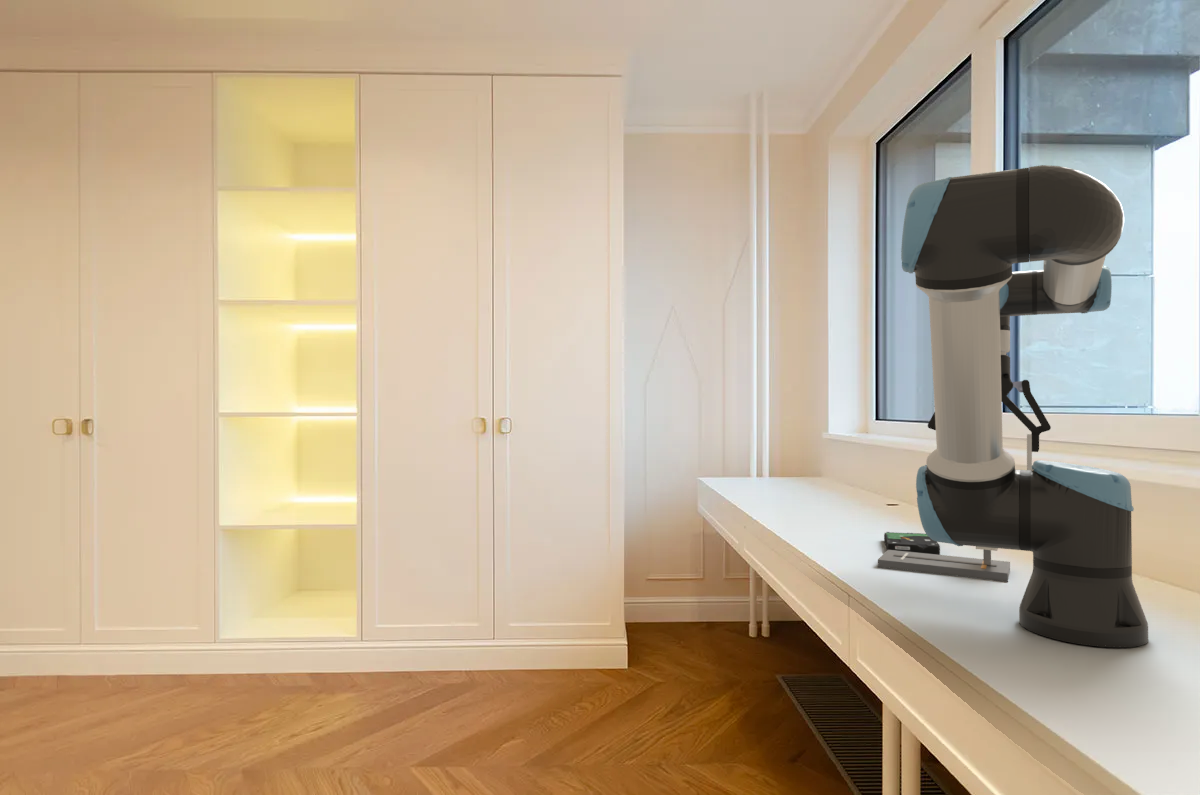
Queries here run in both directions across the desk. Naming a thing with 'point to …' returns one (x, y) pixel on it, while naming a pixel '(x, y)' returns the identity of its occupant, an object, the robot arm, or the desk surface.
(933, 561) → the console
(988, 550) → the fader
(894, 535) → the disk drive
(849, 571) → the desk surface
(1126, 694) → the desk surface
